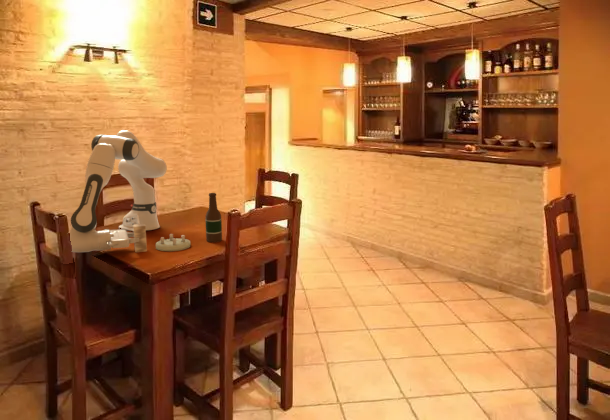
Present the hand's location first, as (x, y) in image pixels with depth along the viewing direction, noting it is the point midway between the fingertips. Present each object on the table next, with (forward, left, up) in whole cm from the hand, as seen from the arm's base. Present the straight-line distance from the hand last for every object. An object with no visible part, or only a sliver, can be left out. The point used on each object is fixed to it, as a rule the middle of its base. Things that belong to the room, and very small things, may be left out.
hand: (138, 236), depth 226 cm
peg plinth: (+11, +11, -7) cm, 17 cm away
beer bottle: (+23, +28, -7) cm, 37 cm away
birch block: (+1, 0, -7) cm, 7 cm away
